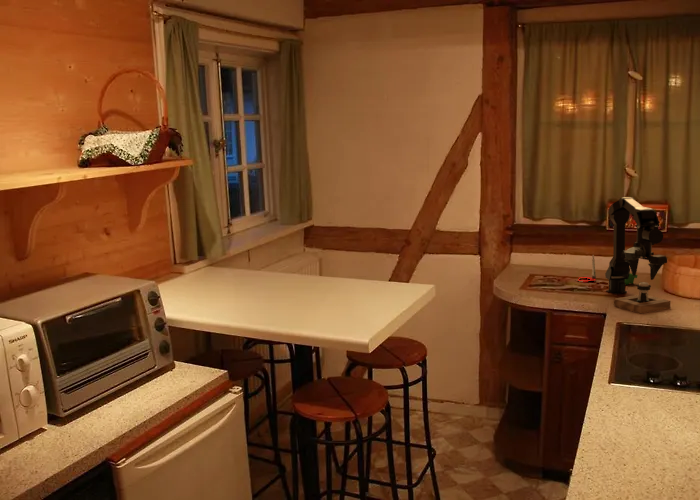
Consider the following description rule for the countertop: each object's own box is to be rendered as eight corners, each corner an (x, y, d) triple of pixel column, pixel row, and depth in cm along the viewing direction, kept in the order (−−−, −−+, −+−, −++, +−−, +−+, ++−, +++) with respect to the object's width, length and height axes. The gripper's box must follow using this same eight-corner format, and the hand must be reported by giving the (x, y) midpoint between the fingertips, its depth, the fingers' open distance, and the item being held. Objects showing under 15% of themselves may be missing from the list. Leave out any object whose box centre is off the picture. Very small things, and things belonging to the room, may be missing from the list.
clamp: (631, 293, 313) (640, 277, 308) (620, 291, 312) (629, 275, 307) (621, 278, 323) (629, 263, 319) (610, 276, 322) (618, 261, 318)
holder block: (613, 305, 276) (614, 298, 275) (643, 300, 282) (643, 293, 281) (640, 313, 263) (640, 306, 263) (670, 308, 269) (670, 300, 269)
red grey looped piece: (576, 283, 320) (596, 283, 317) (575, 257, 318) (595, 256, 315) (575, 279, 328) (595, 279, 325) (574, 254, 326) (594, 253, 323)
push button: (633, 308, 271) (634, 284, 270) (631, 304, 276) (632, 281, 275) (651, 308, 269) (651, 284, 268) (649, 305, 274) (650, 281, 273)
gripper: (611, 238, 273) (610, 276, 276) (647, 244, 256) (646, 284, 259) (632, 236, 277) (630, 272, 280) (668, 242, 260) (667, 280, 263)
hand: (642, 277), depth 270 cm, fingers open, 9 cm apart
